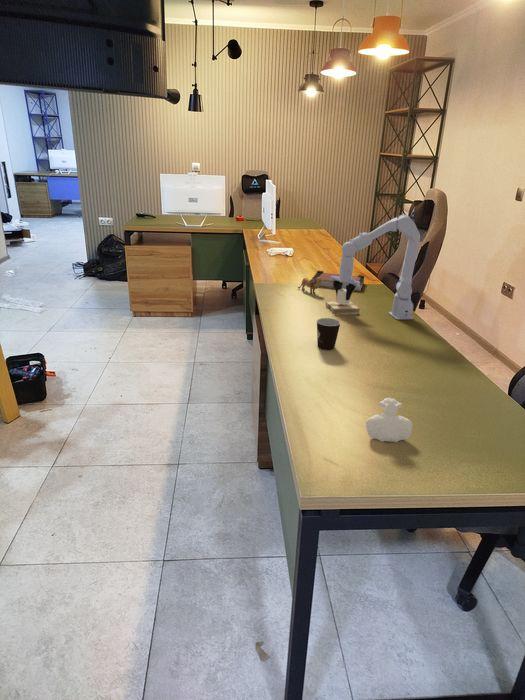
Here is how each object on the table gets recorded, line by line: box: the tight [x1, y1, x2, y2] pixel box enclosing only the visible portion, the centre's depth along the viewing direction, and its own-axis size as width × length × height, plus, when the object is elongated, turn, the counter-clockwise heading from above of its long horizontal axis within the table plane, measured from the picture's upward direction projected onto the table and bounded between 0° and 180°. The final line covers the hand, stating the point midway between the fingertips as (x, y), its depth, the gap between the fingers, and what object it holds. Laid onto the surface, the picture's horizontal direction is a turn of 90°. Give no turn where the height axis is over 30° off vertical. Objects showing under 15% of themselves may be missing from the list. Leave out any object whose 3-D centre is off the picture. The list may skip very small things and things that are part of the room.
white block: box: [335, 289, 351, 305], centre depth 219 cm, size 4×4×6 cm
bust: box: [365, 397, 413, 443], centre depth 124 cm, size 12×8×11 cm
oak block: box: [325, 300, 361, 316], centre depth 220 cm, size 12×12×3 cm
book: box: [311, 270, 365, 292], centre depth 261 cm, size 26×18×5 cm
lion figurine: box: [297, 277, 323, 295], centre depth 244 cm, size 15×5×9 cm, turn 46°
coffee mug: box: [316, 317, 341, 351], centre depth 179 cm, size 12×9×10 cm
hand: (343, 298), depth 219 cm, fingers closed on white block, 4 cm apart
